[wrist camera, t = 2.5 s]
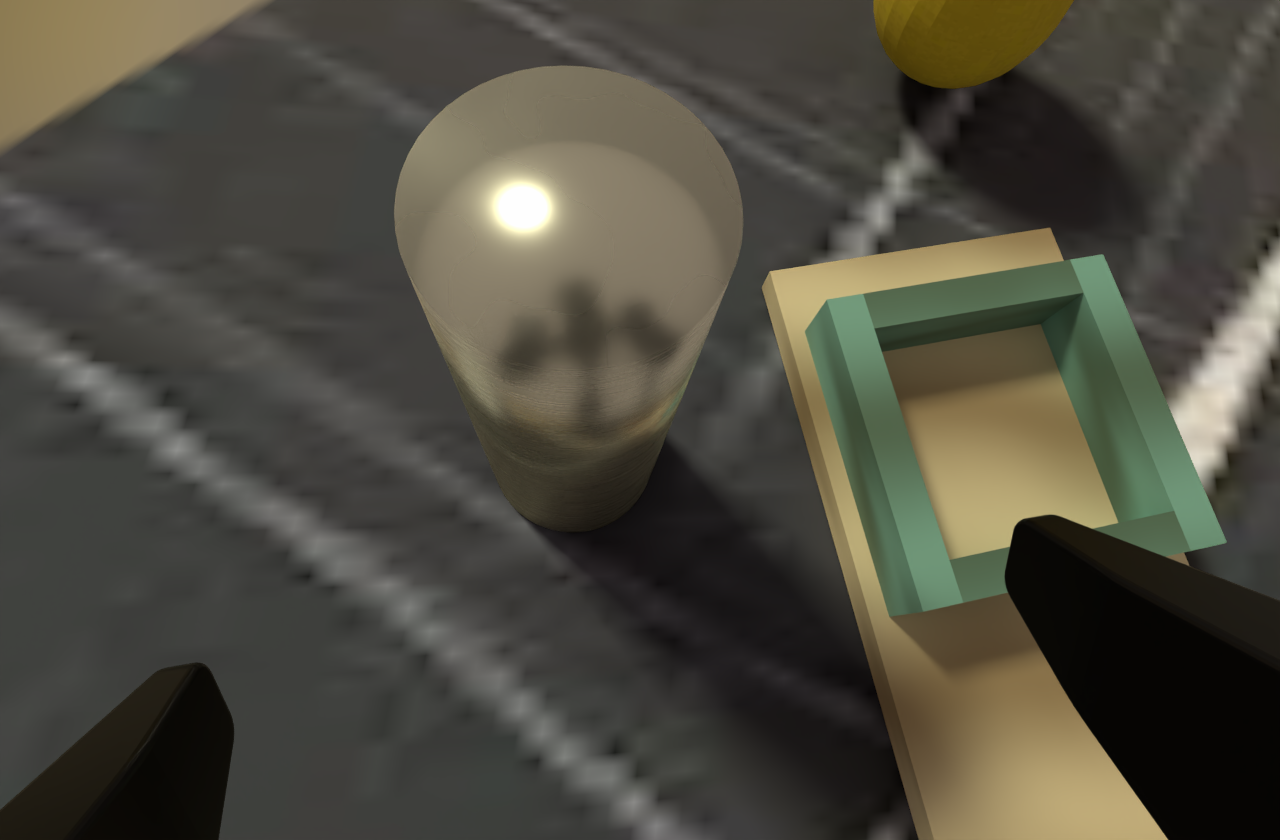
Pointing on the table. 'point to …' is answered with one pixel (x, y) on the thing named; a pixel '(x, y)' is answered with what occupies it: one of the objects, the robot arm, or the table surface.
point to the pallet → (981, 505)
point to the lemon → (963, 36)
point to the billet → (569, 275)
